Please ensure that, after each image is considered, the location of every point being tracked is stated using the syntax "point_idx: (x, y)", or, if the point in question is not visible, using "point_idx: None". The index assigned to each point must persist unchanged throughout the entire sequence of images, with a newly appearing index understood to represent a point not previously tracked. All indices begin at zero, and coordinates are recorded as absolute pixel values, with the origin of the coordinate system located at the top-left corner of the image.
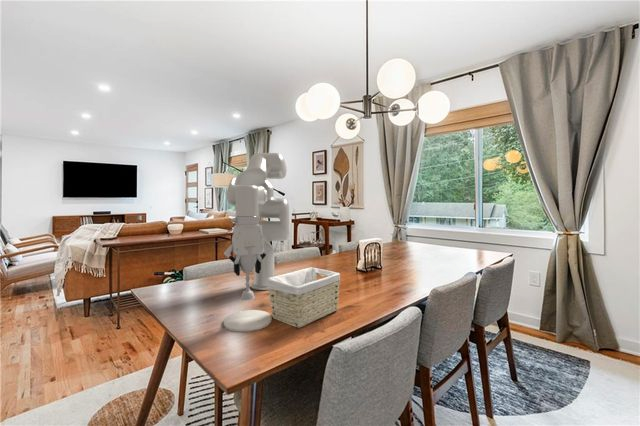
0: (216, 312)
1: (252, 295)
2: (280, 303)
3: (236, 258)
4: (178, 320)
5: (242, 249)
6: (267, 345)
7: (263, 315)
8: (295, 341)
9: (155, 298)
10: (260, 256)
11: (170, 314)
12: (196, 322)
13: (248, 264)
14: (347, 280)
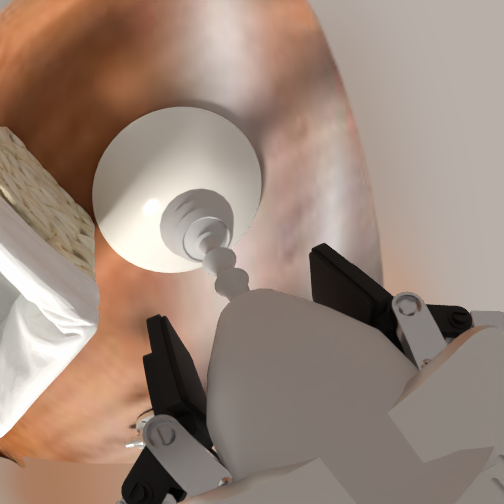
0: (277, 273)
1: (176, 217)
2: (41, 208)
3: (433, 330)
4: (355, 226)
5: (494, 411)
6: (121, 7)
7: (123, 220)
8: (34, 32)
9: None
10: (174, 472)
11: (364, 261)
12: (323, 207)
13: (294, 320)
14: None
